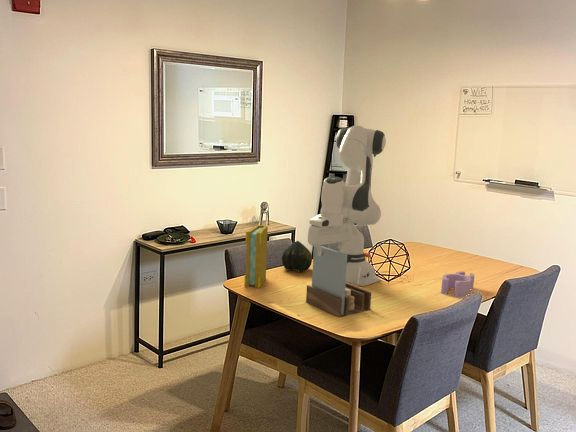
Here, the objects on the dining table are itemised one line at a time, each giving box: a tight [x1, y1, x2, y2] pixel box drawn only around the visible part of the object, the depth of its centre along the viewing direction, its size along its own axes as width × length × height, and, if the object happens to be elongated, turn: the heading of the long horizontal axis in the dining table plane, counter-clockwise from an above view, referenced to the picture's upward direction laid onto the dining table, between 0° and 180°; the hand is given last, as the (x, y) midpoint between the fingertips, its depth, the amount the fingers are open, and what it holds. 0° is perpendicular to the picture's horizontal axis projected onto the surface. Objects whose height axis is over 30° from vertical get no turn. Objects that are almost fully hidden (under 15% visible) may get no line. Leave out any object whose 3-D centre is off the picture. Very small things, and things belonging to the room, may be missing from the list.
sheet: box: [311, 245, 347, 315], centre depth 228 cm, size 2×18×24 cm, turn 37°
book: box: [244, 224, 269, 288], centre depth 264 cm, size 17×7×25 cm, turn 168°
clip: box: [440, 271, 475, 298], centre depth 265 cm, size 20×12×7 cm, turn 140°
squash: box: [281, 240, 313, 273], centre depth 288 cm, size 14×15×15 cm
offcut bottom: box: [348, 303, 355, 311], centre depth 234 cm, size 5×14×2 cm, turn 37°
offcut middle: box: [348, 296, 355, 304], centre depth 233 cm, size 5×12×2 cm, turn 40°
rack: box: [304, 282, 373, 319], centre depth 233 cm, size 18×21×8 cm
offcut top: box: [345, 288, 351, 297], centre depth 233 cm, size 5×10×2 cm, turn 34°
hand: (329, 254), depth 226 cm, fingers open, 8 cm apart
